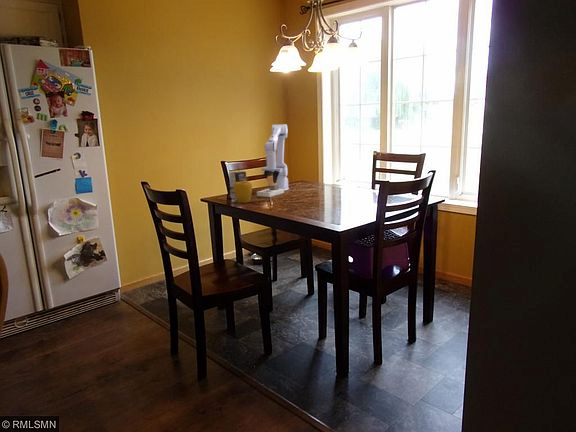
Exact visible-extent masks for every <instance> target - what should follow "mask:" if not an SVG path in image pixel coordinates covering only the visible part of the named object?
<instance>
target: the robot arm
mask: <svg viewBox="0 0 576 432" xmlns="http://www.w3.org/2000/svg"><path fill="white" fill-rule="evenodd" d="M288 130H289V129H288V125H287V124H286V123H285V124H284V123H283V124H272V125H271V133H272V134H271V135H270V136H269V137H268V140H267V142H265V143H264V151H265V155H266V156H265V157H266V167H261V169H260V170H261V172H263V174H264V176H265V178H266V179H267V177H268V176H273V182H274V183H276V181H277V184H278V188H279V189H284V192H285V191H288V190H290V188H289V179H288V177H287V176H288V173H289V172H288V171H289V170H288V165H287V164H286V163H285V162H284V158H285V157H284V156H285V141H286V138H288V132H289V131H288Z"/></svg>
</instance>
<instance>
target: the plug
mask: <svg viewBox="0 0 576 432" xmlns="http://www.w3.org/2000/svg"><path fill="white" fill-rule="evenodd" d="M266 181H267V183H266V184H267V186H269V185H270V186H273V185H277V181H276V183H274V182H273V175H271V176H268V177H267V178H266Z"/></svg>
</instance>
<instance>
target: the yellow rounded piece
mask: <svg viewBox="0 0 576 432" xmlns="http://www.w3.org/2000/svg"><path fill="white" fill-rule="evenodd" d="M234 193H235V197H236V199H235V200H236V201H237V202H239V203H242V204H245V203H248V202H250V199H251V197H252V193H253V185H252V182H250V181H247V180H246V181H242V182H236V183H234Z"/></svg>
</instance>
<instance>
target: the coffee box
mask: <svg viewBox="0 0 576 432" xmlns="http://www.w3.org/2000/svg"><path fill="white" fill-rule="evenodd" d="M246 172H247V171H243V170H242V171H240V170H238V171H232V172H229V175H228V176H229V194H230V199H235V200H237V199H236V197H235V193H234V183H236V182H242V181H247V173H246Z"/></svg>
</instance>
